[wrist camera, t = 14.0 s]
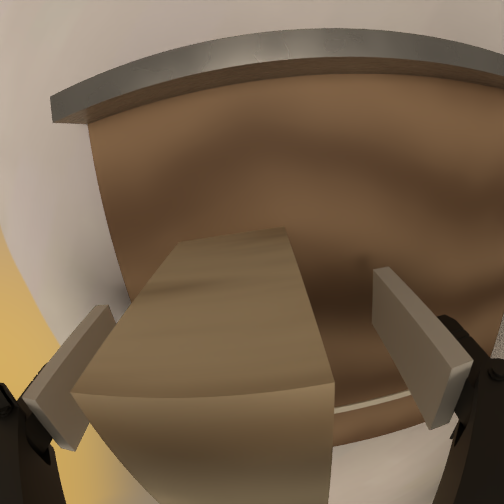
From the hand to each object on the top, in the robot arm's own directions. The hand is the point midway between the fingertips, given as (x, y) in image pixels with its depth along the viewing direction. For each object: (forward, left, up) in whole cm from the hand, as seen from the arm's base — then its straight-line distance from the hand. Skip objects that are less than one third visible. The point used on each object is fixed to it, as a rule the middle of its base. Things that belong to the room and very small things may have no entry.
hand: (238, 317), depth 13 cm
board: (-2, -6, -3) cm, 7 cm away
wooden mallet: (-4, 0, -2) cm, 4 cm away
